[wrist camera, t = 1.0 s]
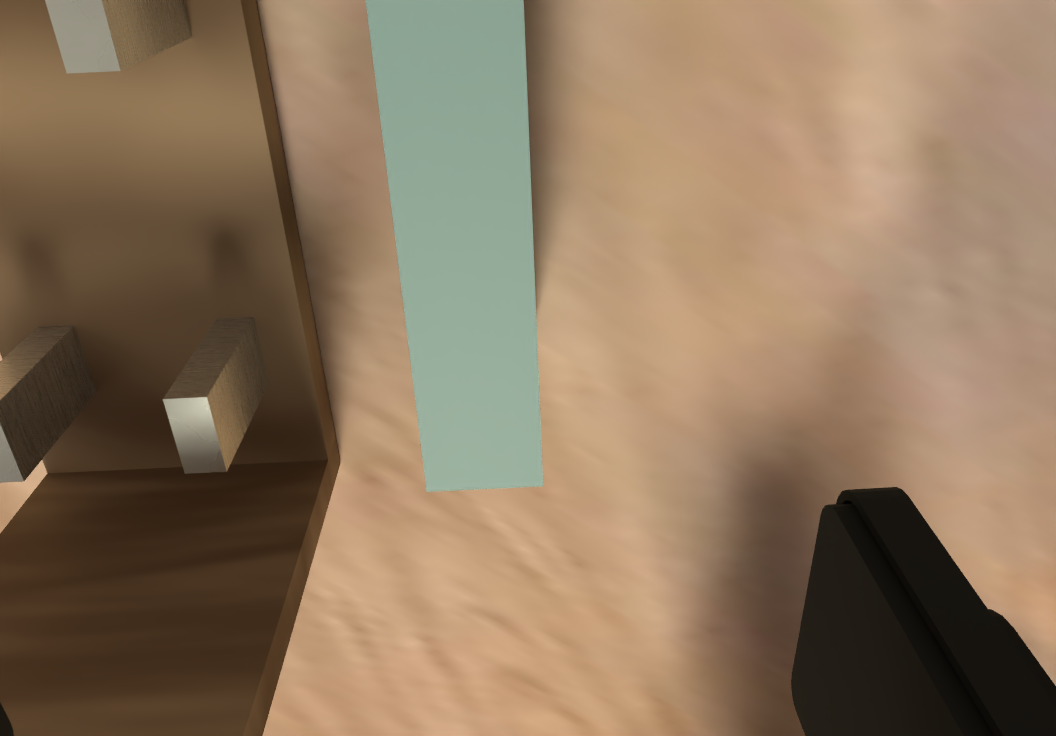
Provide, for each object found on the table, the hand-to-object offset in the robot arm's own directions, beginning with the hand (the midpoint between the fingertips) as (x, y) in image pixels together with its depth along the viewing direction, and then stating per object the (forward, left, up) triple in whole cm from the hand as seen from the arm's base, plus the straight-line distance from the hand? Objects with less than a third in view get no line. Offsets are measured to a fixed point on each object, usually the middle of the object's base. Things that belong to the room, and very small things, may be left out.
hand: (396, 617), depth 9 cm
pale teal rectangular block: (0, 0, -20) cm, 20 cm away
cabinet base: (+11, +1, -20) cm, 22 cm away
